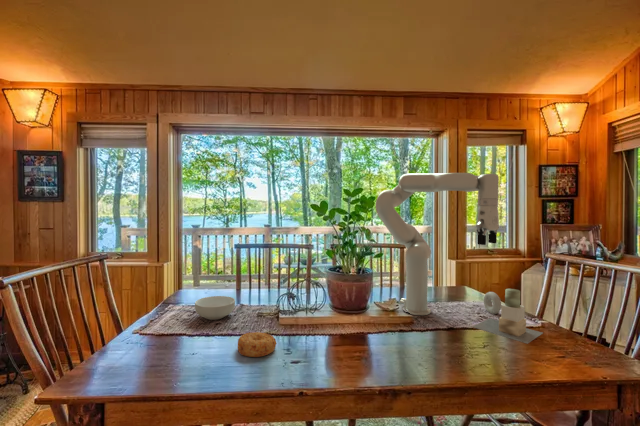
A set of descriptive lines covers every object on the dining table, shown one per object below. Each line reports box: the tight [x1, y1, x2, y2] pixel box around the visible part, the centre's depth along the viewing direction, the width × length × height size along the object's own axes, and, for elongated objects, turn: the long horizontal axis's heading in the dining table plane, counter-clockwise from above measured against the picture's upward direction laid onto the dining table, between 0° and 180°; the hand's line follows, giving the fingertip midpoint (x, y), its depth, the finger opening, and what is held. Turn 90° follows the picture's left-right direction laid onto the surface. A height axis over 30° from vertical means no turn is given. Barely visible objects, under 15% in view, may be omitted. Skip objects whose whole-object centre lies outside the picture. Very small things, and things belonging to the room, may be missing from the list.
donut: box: [483, 291, 502, 315], centre depth 148 cm, size 10×4×10 cm, turn 7°
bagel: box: [237, 331, 277, 358], centre depth 109 cm, size 13×14×5 cm
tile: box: [471, 318, 544, 345], centre depth 127 cm, size 20×16×1 cm
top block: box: [500, 303, 526, 322], centre depth 125 cm, size 6×6×5 cm
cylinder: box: [504, 288, 521, 308], centre depth 125 cm, size 5×5×6 cm
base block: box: [498, 316, 527, 336], centre depth 125 cm, size 7×7×5 cm
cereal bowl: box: [194, 295, 236, 321], centre depth 141 cm, size 17×17×7 cm
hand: (487, 243), depth 136 cm, fingers open, 9 cm apart
